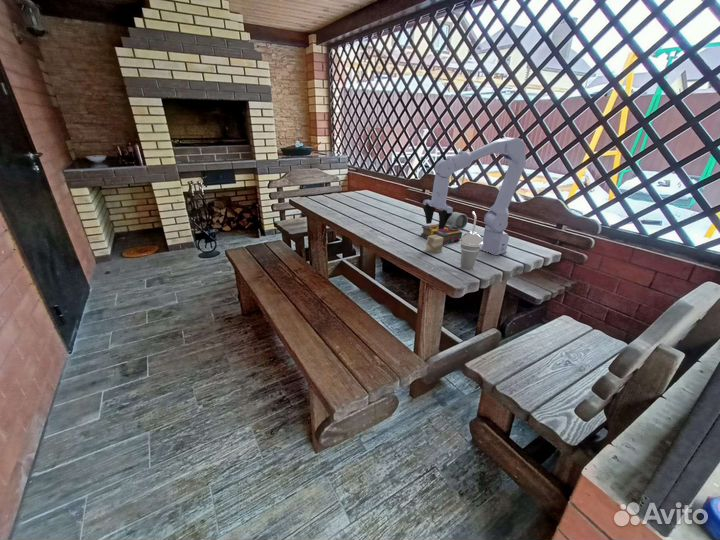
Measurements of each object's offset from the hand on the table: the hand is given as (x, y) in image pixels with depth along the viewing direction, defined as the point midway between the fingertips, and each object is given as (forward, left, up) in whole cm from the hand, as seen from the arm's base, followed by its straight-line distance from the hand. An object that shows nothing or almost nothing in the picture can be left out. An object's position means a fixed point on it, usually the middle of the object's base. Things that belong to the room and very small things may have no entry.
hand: (434, 226), depth 134 cm
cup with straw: (-20, +2, -10) cm, 23 cm away
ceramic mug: (+17, -32, -11) cm, 38 cm away
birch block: (-1, 0, -10) cm, 10 cm away
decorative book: (+8, -14, -11) cm, 20 cm away
